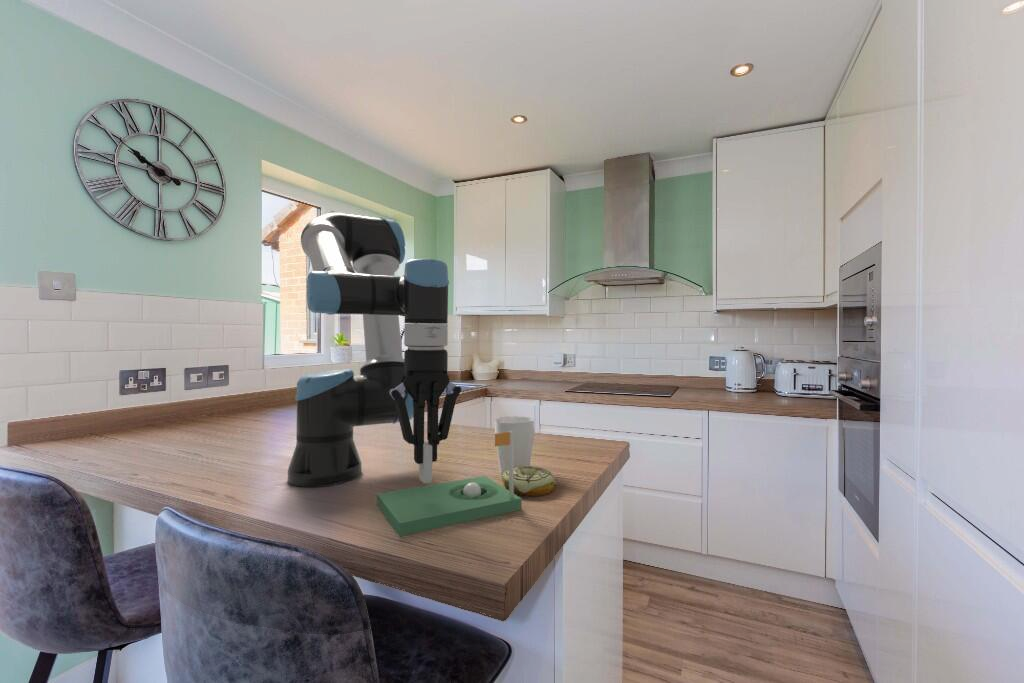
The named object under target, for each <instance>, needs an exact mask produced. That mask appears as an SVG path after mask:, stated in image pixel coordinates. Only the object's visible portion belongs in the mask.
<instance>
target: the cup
mask: <svg viewBox="0 0 1024 683" xmlns="http://www.w3.org/2000/svg"><path fill="white" fill-rule="evenodd" d="M494 423H495V424H494V425H495V426H494V435H495V434H496V433H504V432H509V431H514V468H516V467H520V466H531V460H532V453H533V445H534V440H535V438H534V437H535V425H534V424H535V422H534V419H533V418H531V417H526V416H518V415H517V416H516V415H515V416H514V415H513V416H500V417H497V418H496V419H495V422H494ZM496 452H497V459H498V460H497V461H498V466H499V473H500V474H502V475H503V473H504V472H505V471H507V470H509V445H503V446H496Z"/></svg>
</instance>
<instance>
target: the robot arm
mask: <svg viewBox="0 0 1024 683" xmlns="http://www.w3.org/2000/svg"><path fill="white" fill-rule="evenodd" d="M305 225H306V226H305V227H304V228H303V229H302V232H301V236H300V244H301V245H300V246H301V249H302V252H304V254H305V255H306V257H308V259H309V261H310V265H311V267H312V271H310V272H309V273H308V274H307V278H306V300H307V301H306V303H307V304H306V305H307V309H308V310H309V311H310V312H311V313H316V314H325V315H330V316H331V315H333V316H334V315H362V321H363V336H364V349H365V352H364V353H365V362H364V364H363V365H362V366H361V367H360V368H359V369H360V372H359V373H360V374H354V371H353V370H352V369H351V368H343V369H342V368H341V369H332V370H326V371H325V370H324V371H319V372H314V373H310V374H306V375H303V376H301V378H299V379H298V381H297V383H296V393H295V397H294V398H295V399H294V400H295V402H296V445H295V447H294V451H293V453H292V457H291V460H290V463H289V464H288V468H287V482H288V483H289V484H291V485H292V486H293V485H294V486H296V487H306V488H307V487H310V488H311V487H312V488H313V487H314V488H315V487H325V486H334V485H338V484H342V483H347V482H349V481H352V480H354V479H356V478H358V477H359V476H361V475H362V474H363V473H362V461H361V458H360V455H359V453H358V452H359V451H358V449H357V446H356V443H355V441H354V440H355V439H354V427H361V426H362V427H363V426H373V425H374V426H375V425H382V424H383V425H384V424H397V423H399V426H400V430H401V434H402V438H403V440H404V441H405V443H407V444H409V445H411V444H412V445H413V460H414V462H415V464H417V465H418V479H419V480H420V481H421V482H422V483H423V484H428V483H432V482H433V462H437V460H438V446H439V445H440V442H441V441H442V440H447V439H448V436H449V433H450V428H451V423H452V420H453V415H454V410H455V405H456V401H457V398H458V397H459V395H460V393H461V392H462V387H461V386H459V385H456V384H454V383H453V382H451V381H450V376H449V374H448V351H447V349H445V347H447V346H448V343H449V342H448V340H449V339H448V337H449V336H448V333H449V332H448V330H449V329H448V328H449V326H448V325H449V324H448V322H449V320H448V317H449V315H448V314H449V312H448V310H449V283H450V281H449V273H448V272H449V271H448V265H447V264H446V262H444V261H442V260H439V259H432V258H416V259H415V258H413V259H409V260H407V261H406V262H405V264H404V271H403V276H400V275H395V273H396V272H397V271H398V270H399V269H400V265H401V264H402V263H403V262H404V260H405V256H406V249H405V247H406V241H405V240H406V239H405V236H404V232H403V229H402V227H401V225H400V224H399V223H398V222H397V221H395V220H393V219H387V218H384V217H371V216H362V215H355V214H349V213H348V214H347V213H342V212H333V213H325V214H323V215H319V216H318V217H316V218H314V219H312V220H311V221H310V222H308V223H307V224H305ZM351 262H352V263H351ZM400 317H404V330H403V331H404V334H403V335H404V338H403V341H404V342H403V344H404V346H405V347H407V349H405V351H404V353H403V348H402V337H401V336H402V335H401V326H400ZM403 355H404V356H403ZM444 392H445V393H446V394H445V397H444V400H443V404H442V408H441V413H440V418H439V406H440V397H442V394H443V393H444ZM426 406H427V410H426V416H427V417H426V418H427V419H426V423H427V425H426V430H427V431H426V432H427V433H426V434H427V435H426V438H427V441H426V442H425V407H426ZM411 420H412V421H413V422H412V423H413V424H412V425H413V426H412V425H411ZM412 427H413V428H412Z"/></svg>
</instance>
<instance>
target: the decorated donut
mask: <svg viewBox="0 0 1024 683" xmlns="http://www.w3.org/2000/svg"><path fill="white" fill-rule="evenodd" d="M501 478H502V479H501V480H502V482H503V485H504V486H503V487H504V488H505V489H507V490H509V470H507V471H505V472H504V473H503V474H502V477H501ZM555 484H556V477H555V475H554V474H553V473H552V472H551V471H549V470H548V469H545V468H543V467H538V466H531V465H530V466H520V467H516V468H514V494H515V495H517V496H518V495H522V496H527V497H536V496H537V497H539V496H546V495H549V493H551V492H552V491H553V490H554V488H555Z"/></svg>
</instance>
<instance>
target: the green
mask: <svg viewBox="0 0 1024 683" xmlns="http://www.w3.org/2000/svg"><path fill="white" fill-rule="evenodd" d="M503 445H509V490H507V489H506V488H505V486H502V485H501V484H499V483H497V482H496V481H494V480H493V479H490V478H489V477H487V476H485V475H481V476H475V477H469V478H465V479H463V478H462V479H458V480H453V481H447V482H441V483H440V482H439V483H435V484H429V485H422V486H416V487H411V488H406V489H399V490H398V489H397V490H393V491H388V492H387V491H386V492H380V493H377V494H376V505H377V507H378V506H379V507H378V508H379V510H380V509H381V510H380V511H381V512H382V514H383V513H384V514H383V515H384V516H386V517H385V518H386V519H387V521H388V522H389V523H391V524H390V525H391V527H392V528H393V529H394V531H395V533H397V535H398V536H399V537H402V536H407V535H410V534H415V533H420V532H425V531H429V530H433V529H434V530H435V529H437V528H439V529H440V528H443V527H448V526H452V525H458V524H461V523H462V524H463V523H466V522H470V521H474V520H480V519H483V518H489V517H494V516H498V515H502V514H506V513H507V514H508V513H511V512H516V511H521V510H522V497H520V496H518V494H514V431H509V432H504V433H496V434H495V433H494V447H497V446H503ZM471 482H474V483H477V484H478V485H479V486H480V488H481V495H480V496H465V495H463V490H464V487H465V486H466V485H467V484H468V483H471Z"/></svg>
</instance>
